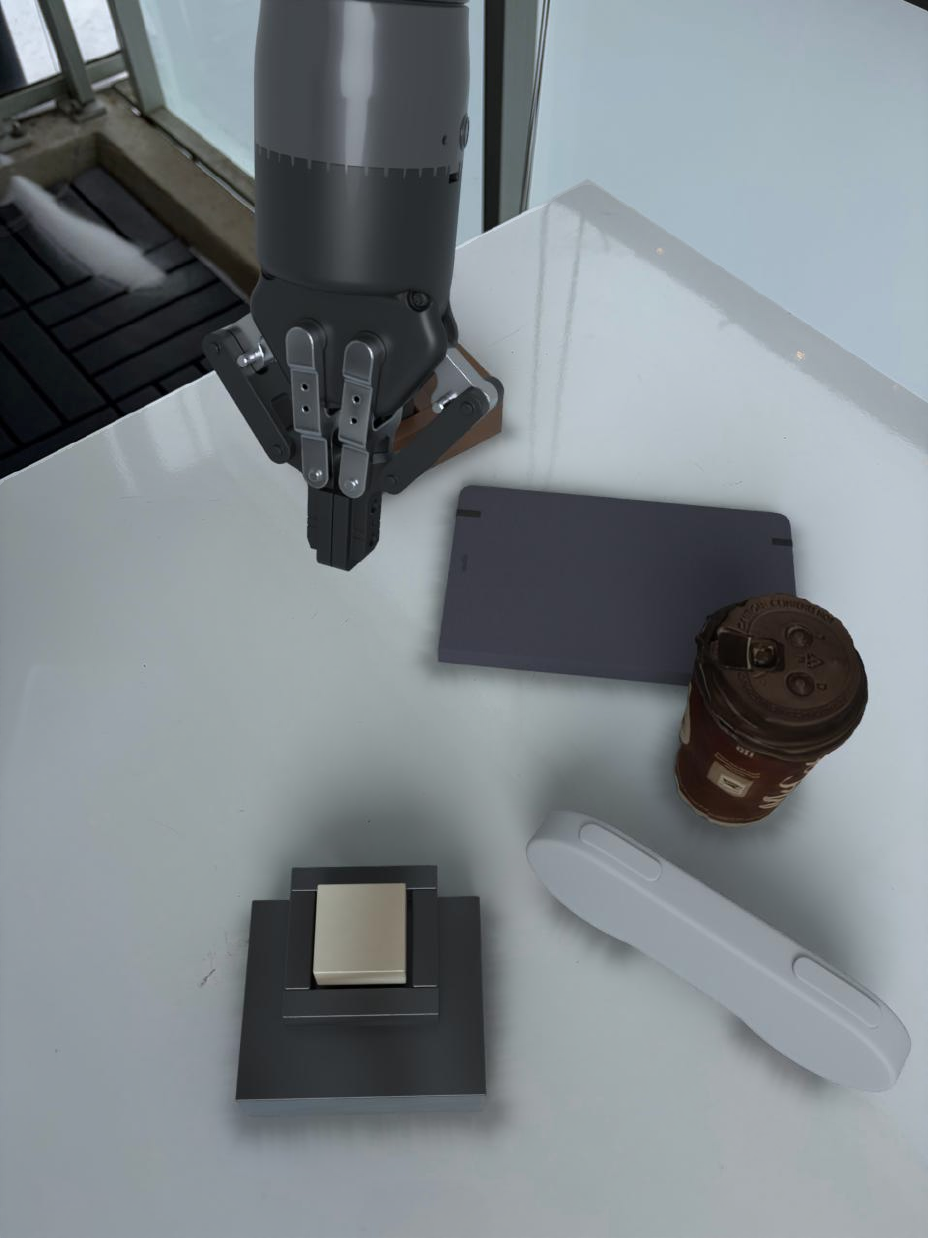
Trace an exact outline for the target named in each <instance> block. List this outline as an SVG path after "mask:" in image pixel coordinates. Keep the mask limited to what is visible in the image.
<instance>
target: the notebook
mask: <svg viewBox="0 0 928 1238" xmlns="http://www.w3.org/2000/svg"><path fill="white" fill-rule="evenodd" d="M455 513H456V514H455V523H454V530H453V536H452V545H451V551H450V560H449V567H448V575H447V582H446V589H445V595H444V604H443V611H442V617H441V618H442V619H441V625H440V633H439V641H438V646H437V662H438V663H446V664H454V665H455V664H456V665H465V666H477V667H487V668H496V669H506V670H507V669H508V670H517V671H528V672H538V673H547V674H548V673H549V674H559V675H568V676H580V677H581V676H582V677H588V678H589V677H590V678H598V679H599V678H600V679H608V680H609V679H610V680H619V681H621V680H622V681H630V682H640V683H650V684H661V685H672V686H680V687H681V686H682V687H689V684H690V680H691V676H692V671H693V667H694V661H695V659H696V656H697V644H696V642H695V637H696V636H697V635H698V634H700V631H701V629H702V628H703V624H704V623H705V622H706V621H707V619H706V616H708V615H711V614H713V613H714V612H715V611H717V610H719V609H721V608H723V607H725V606H728V605H730V604H733V603H738V602H742V601H745V600H748V599H750V598H752V597H754V598H757V597H759V596H760V595H762V596H764V595H770V596H773V595H775V594H776V593H784V594H789V595H794V596H796V597H797V586H796V575H795V563H794V550H793V548H794V545H793V544H794V543H793V537H792V527H791V522H790V520H789V518H788V517H787V516H786V515H784V513H780V512H775V511H765V510H754V509H753V510H752V509H743V508H731V507H721V506H709V505H699V504H698V505H697V504H686V503H675V502H664V501H655V500H643V499H632V498H620V497H610V496H599V495H589V494H577V493H576V494H575V493H565V492H554V491H544V490H543V491H542V490H534V489H533V490H532V489H523V488H511V487H501V486H500V487H499V486H488V485H478V484H477V485H476V484H472V485H471V484H470V485H469V484H468V485H466V486H464V487H463V488H462V489H460V492H459V495H458V501H457V508H456V511H455Z"/></svg>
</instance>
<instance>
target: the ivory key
mask: <svg viewBox="0 0 928 1238" xmlns="http://www.w3.org/2000/svg"><path fill="white" fill-rule="evenodd" d="M406 955H407V895H406V884H405V883H378V884H320V885H318V888H317V907H316V927H315V946H314V965H313V973H314V976H315V979H316V981H317V984H318V985H364V984H405V983H406Z"/></svg>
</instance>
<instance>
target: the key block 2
mask: <svg viewBox="0 0 928 1238" xmlns="http://www.w3.org/2000/svg"><path fill="white" fill-rule="evenodd" d="M456 349H457V350H458V351H459V352H460V353H461V354H462V356H463V357H464V358H465V359H466V360H467V361H468V362H469V363H470V365H471V366H472V367H473V368H474V369H475V370H476V371H477V373H478V374H479V375H480V376H481V377H483V376H492V375H491V373H490V372H489V371H488V370H487V369H486V368H484V367H483V366H482V364H480V362H478V360H477V359H476V358H474V357H473V356H472V354H470V352H468V350H467V349H466V348H465V347H463V346H462V344H460V343H459V342H458V343H457V346H456ZM436 386H437V377H436V374H434V375H433V376H432V377H431V378H430V379H429V380H428V381H427V382H426V384H425V385H424V386H423V387H422V388H421V389H420V390H419V391H418V392H417V393H416V394H415V396H414V415H413V416H411V417H409V418H407V419H405V420H403V421H401V422H400V424H399V426H398V428H397V430H396V432H395V435H394V441H393V448H392V452H395V451H401V450H402V449H403V448H404V447H405V446H406V445H407V444H408V443H409V442H410V441H411V440H413V439H414V438H415V437H416V436H417V435H418V434H419V433H420V432H421V431H422V430H423V429H424V428H425V427H426V426H427V425H428V424H429V423H430V422H431V421H432V420H433V419H434V418H435V417H436V416H437V414H436V413H434V412H433V410H432V406H431V395H432V393H433V392H434V390H435V389H436ZM504 396H505V395H504ZM504 396H503V399H502V400H501V401H500V402H499V403H498V404H497V405H496V406H495V407H494V408H493V409H492V410H491V411H490V412H489V413H487V414H486V415H485V416H484V417H483V418H482V419H481V420H480V421H479V422H478V423H477V424H476V425H475V426H473V427H472V428H471V429H470V430H469V431H468V432H467V433H466V434H465V435H464V436H463V437H462V438H461V439H460V440H458V441H457V442H456V443H455V444H454V445H453V446H452V447H451V448H450V449H449V450H448V451H447V452H446V453H444V454H443V455H442V456H441V457H440V458H439V459H438V460H437V461H436V462H435V463H434V464H433V465H432V466H430V467H429V468H428V469H427V470H426V471H425V472H427V471H429V470H432V469H433V468H435V467H437V466H438V465H441V464H442V463H444V462H446V461H449V460H451V459H452V458H454V457H456V456H458V455H460V454H461V453H464V452H466V451H467V450H470V449H471V448H474V447H475V446H477V445H479V444H482V443H483V442H485V441H487V440H489V439H490V438H491V439H492V437H494V436H496V435H498V434H500V433H502V427H503V424H502V423H503V412H504V411H503V410H504ZM385 493H386V492H385V491H382V495H383V494H385Z"/></svg>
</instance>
